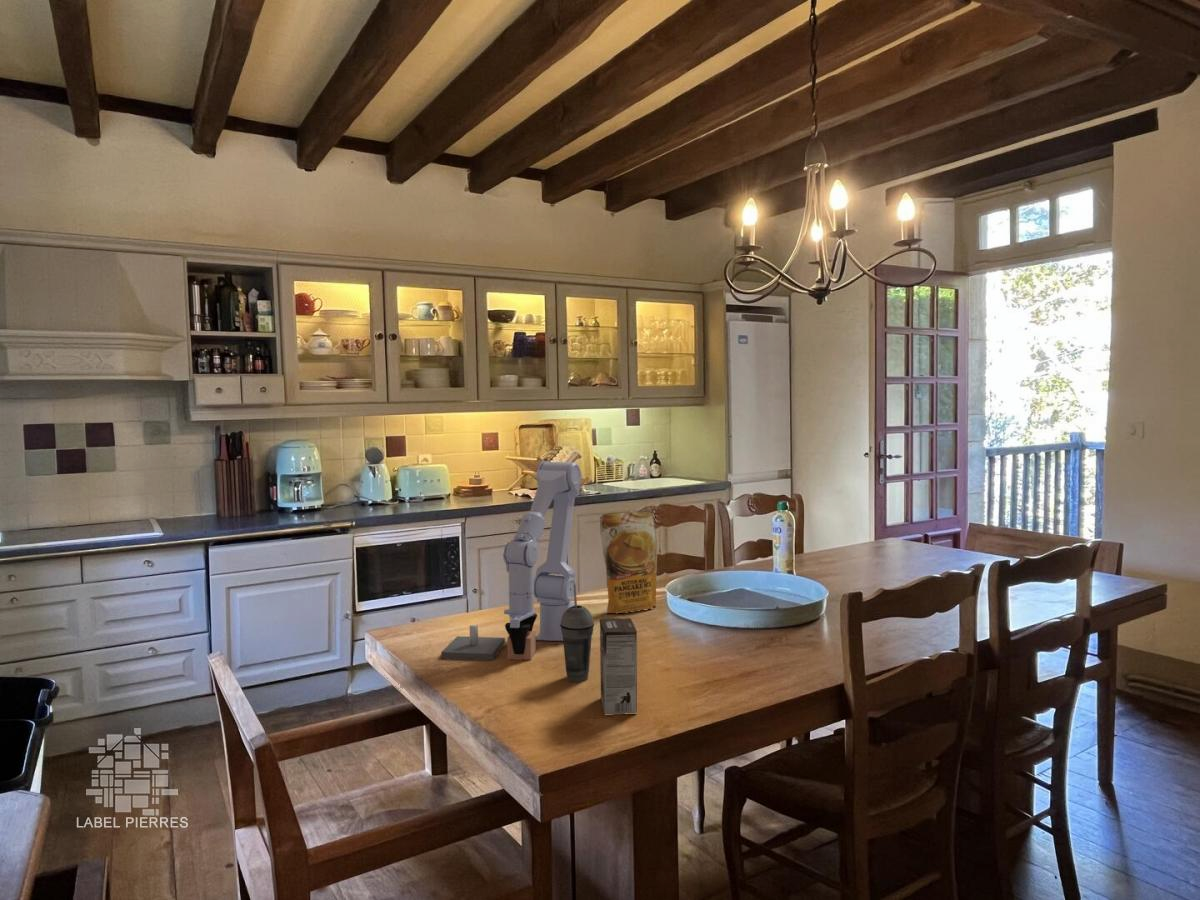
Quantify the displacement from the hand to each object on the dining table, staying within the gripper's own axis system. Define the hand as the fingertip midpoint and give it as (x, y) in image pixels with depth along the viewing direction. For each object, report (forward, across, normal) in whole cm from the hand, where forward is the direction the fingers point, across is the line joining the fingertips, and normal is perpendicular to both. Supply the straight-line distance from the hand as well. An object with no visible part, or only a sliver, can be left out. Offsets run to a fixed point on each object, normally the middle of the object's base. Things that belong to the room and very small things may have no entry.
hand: (521, 649), depth 176 cm
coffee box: (+2, +27, +25) cm, 37 cm away
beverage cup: (+2, +13, +15) cm, 20 cm away
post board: (+1, -2, -12) cm, 12 cm away
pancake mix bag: (+2, -42, +22) cm, 47 cm away
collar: (+1, 0, 0) cm, 1 cm away
